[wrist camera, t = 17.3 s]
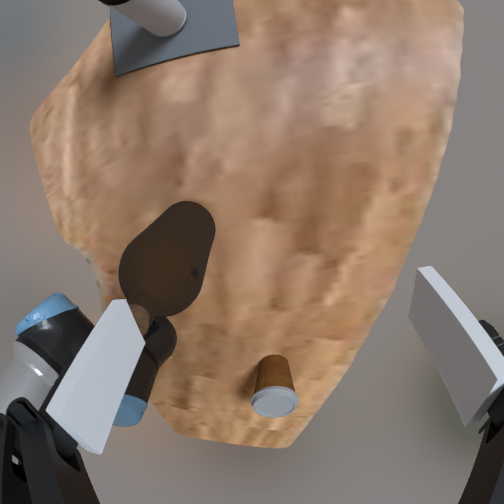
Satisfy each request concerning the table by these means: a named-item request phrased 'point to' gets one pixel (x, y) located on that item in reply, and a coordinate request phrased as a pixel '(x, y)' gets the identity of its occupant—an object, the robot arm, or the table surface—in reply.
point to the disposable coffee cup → (274, 388)
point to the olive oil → (167, 263)
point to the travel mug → (153, 14)
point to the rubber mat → (181, 44)
